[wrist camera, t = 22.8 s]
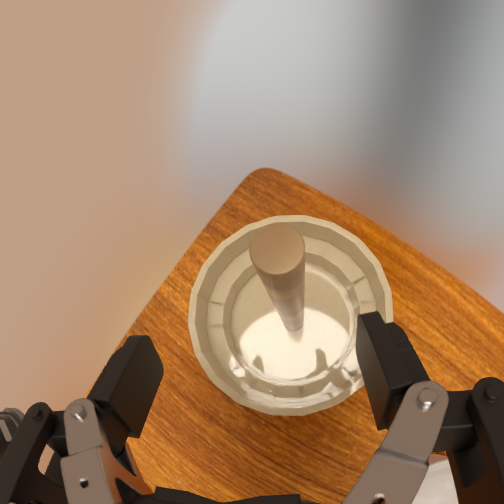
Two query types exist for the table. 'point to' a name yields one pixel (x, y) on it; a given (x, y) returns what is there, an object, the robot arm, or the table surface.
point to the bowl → (272, 328)
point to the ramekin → (437, 483)
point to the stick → (281, 270)
